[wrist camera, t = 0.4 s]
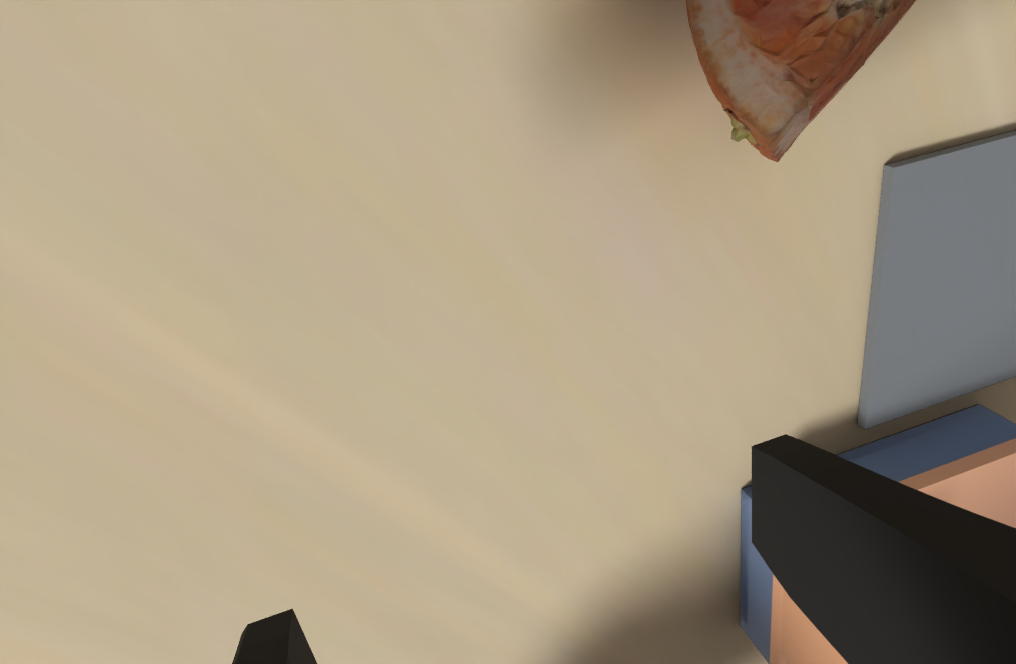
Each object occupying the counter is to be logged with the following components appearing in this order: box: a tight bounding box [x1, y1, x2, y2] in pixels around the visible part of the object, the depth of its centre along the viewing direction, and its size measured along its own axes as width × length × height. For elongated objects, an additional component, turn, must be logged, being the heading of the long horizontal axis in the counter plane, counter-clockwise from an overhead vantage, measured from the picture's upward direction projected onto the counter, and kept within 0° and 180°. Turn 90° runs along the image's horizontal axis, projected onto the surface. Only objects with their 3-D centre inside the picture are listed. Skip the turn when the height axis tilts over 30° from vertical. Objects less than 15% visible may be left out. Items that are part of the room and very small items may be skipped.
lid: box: [770, 438, 1016, 664], centre depth 25 cm, size 8×12×6 cm
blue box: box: [740, 404, 1016, 664], centre depth 28 cm, size 8×11×2 cm
